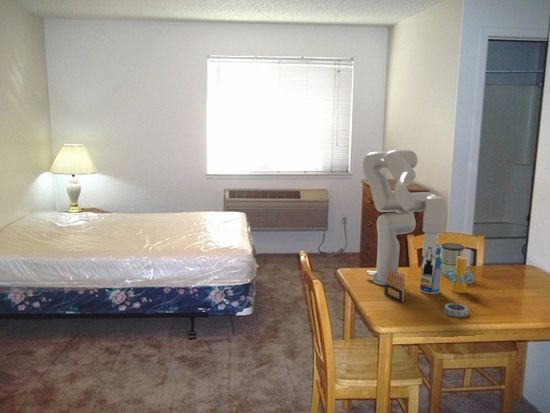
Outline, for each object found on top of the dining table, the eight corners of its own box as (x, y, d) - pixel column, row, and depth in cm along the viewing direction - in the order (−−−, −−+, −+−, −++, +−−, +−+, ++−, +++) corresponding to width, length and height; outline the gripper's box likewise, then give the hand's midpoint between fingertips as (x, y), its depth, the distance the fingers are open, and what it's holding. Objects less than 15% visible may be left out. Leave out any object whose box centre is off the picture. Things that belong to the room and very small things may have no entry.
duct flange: (443, 315, 193) (443, 309, 193) (443, 307, 202) (444, 301, 201) (468, 319, 190) (469, 313, 190) (468, 310, 199) (468, 304, 198)
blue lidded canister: (441, 295, 215) (444, 249, 212) (420, 293, 217) (423, 248, 213) (438, 288, 224) (441, 244, 220) (418, 287, 225) (421, 243, 221)
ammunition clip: (404, 302, 206) (406, 274, 204) (401, 303, 205) (403, 274, 203) (388, 294, 216) (389, 266, 213) (384, 294, 215) (386, 267, 213)
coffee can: (438, 270, 250) (440, 242, 248) (460, 271, 248) (462, 243, 246) (440, 276, 241) (442, 247, 238) (463, 278, 238) (465, 249, 236)
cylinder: (474, 297, 214) (477, 262, 211) (448, 294, 216) (450, 260, 213) (469, 287, 226) (472, 254, 223) (444, 285, 228) (447, 253, 225)
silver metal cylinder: (421, 276, 202) (423, 256, 200) (422, 272, 206) (424, 253, 204) (433, 277, 200) (435, 258, 198) (434, 274, 204) (436, 255, 203)
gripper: (424, 221, 208) (420, 264, 212) (420, 231, 192) (416, 277, 196) (443, 223, 205) (439, 267, 209) (441, 233, 190) (437, 280, 194)
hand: (428, 271), depth 203 cm, fingers closed on silver metal cylinder, 4 cm apart
